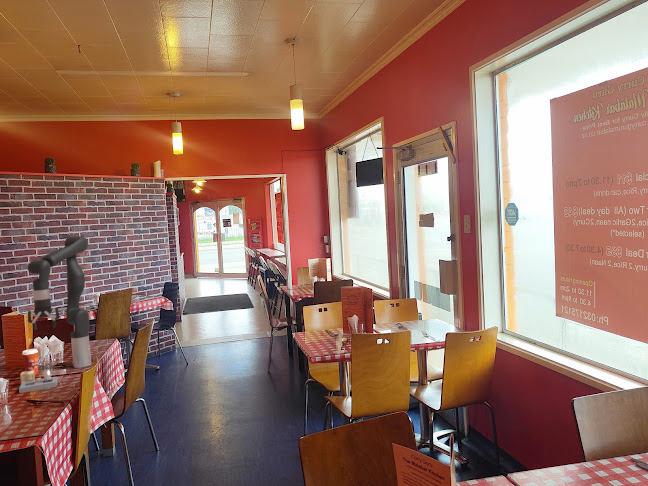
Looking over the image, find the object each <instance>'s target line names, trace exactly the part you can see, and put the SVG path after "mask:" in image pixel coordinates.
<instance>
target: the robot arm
mask: <svg viewBox="0 0 648 486" xmlns="http://www.w3.org/2000/svg"><path fill="white" fill-rule="evenodd" d="M88 247H89V241H88V239H87V238H86V237H84V236H68V237H67V238H66V239H65V241H64V247H61V248H58V249H56V250H53V251H51V252H49V253H47V254H46V255H44V256H41V257H38V258H35V259H33V260H31V261H30V262H29V263H28V264H27V271H28V273H30V274H32V275H38V278H35V279H33V280H32V289H33V290H32V291H33V294H32V295H33V297H32V298H33V305H34V309H33V310H28V311H27V323H31V324H32V330H34V331H37V323H36V321H37V320H38V319H39V318H40V319H42V318H48V317H49V318H50V319H51V320H52V327H53V328H54V329H55V328H56V326H57V320H59V319H60V311H59V307H57V306H56V307H54V308H52V303H51V293H50V286H49V279H50V274H51V269H52V268H54V267H55V266H57V265H58V264H59V263H61V262H63V261H65V262H66V289H67V290H66V291H67V292H66V293H67V295H66V296H67V298H66V299H67V303H66V311H65V312H66V314H65V317H66V318H65V319H66V322H67V323H68V324H69V325H72V326H74V331H72V332H71V333H70V338H71V340H70V341H71V343H70V344H71V351H72V352H71V353H72V362H73V363H72V365H73V368H76V369H78V368H85V367H88V366H89V367H90V366H92V356H91V354H92V353H91V347H90V336H89V333H90V329H91V328H90V323H91V322H90V313H89V311H88V310H87V309H84V308H83V309H82V308H80V298H81V297H82V294H83V292H84V289H85V286H86V282H85V281H86V279H85V277H86V275H85V273H84V270H83V269H82V267H81V266H80V264H79V262H78V258H77V254H81V253H82V252H83V253H84V252H85V251H86V250H87V249H88ZM52 312H54V313H55V316H54V315H53V314H52ZM33 314H34V315H35V316H34V319H32V315H33Z"/></svg>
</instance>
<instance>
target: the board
mask: <svg viewBox="0 0 648 486" xmlns="http://www.w3.org/2000/svg"><path fill="white" fill-rule="evenodd" d="M58 380H59V379H58V377H57V376H54V377H51V382H44V378H43V379H42V378H41V379H40V380H35V381H30V382H24V383H22V384H21V383H20V386H19V388H18V391H19V394H23V393H30V392H34V391H39V390H46V389H53V388H56V387H57V386H58V383H59V382H58Z"/></svg>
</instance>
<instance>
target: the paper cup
mask: <svg viewBox="0 0 648 486" xmlns="http://www.w3.org/2000/svg"><path fill="white" fill-rule="evenodd" d="M38 352H39V351H38V348H30V349H26V350H23V351H22V353H21V355H22V357H23V364H24V372H26V371H32V370H34V374H35V377H36V376H38V375H39V361H38V358H39V356H38Z"/></svg>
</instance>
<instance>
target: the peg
mask: <svg viewBox="0 0 648 486" xmlns="http://www.w3.org/2000/svg"><path fill="white" fill-rule="evenodd" d="M51 378H52V375H51V369H49V368H47V369H44V370H43V379H44V382H51Z"/></svg>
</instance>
